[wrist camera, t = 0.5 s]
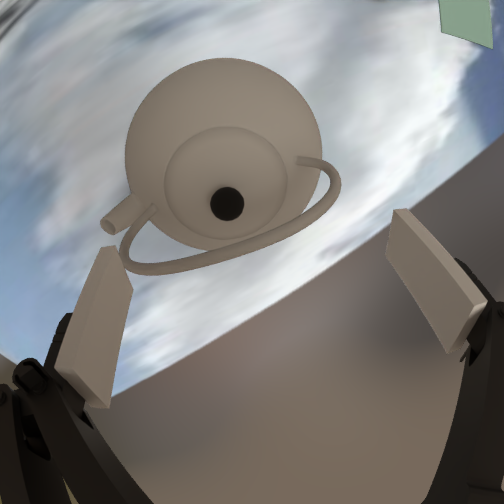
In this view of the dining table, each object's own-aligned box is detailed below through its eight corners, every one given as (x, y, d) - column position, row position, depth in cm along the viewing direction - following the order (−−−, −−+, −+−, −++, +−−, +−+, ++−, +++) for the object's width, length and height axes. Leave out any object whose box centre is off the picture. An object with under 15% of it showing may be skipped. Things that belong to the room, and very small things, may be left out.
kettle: (162, 252, 44) (138, 389, 25) (89, 111, 31) (-28, 184, 12) (327, 197, 42) (405, 315, 23) (284, 36, 28) (379, 8, 10)
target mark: (432, -37, 20) (433, -38, 20) (485, -14, 20) (486, -14, 20) (441, 32, 27) (442, 32, 27) (492, 49, 27) (492, 49, 27)
